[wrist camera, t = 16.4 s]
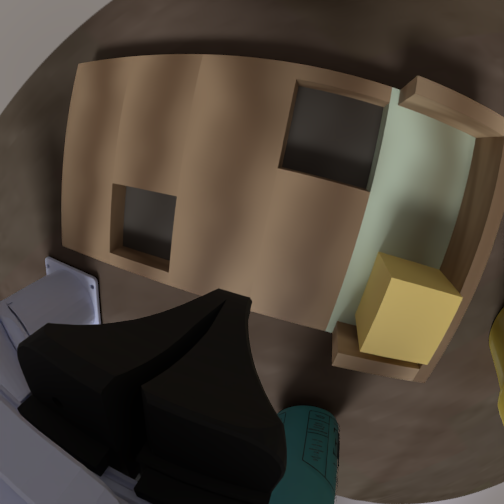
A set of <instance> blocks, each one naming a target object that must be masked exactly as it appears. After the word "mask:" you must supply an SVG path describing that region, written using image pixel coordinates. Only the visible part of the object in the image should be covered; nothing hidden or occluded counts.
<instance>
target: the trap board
mask: <svg viewBox="0 0 504 504" xmlns="http://www.w3.org/2000/svg"><path fill="white" fill-rule="evenodd" d="M503 212H504V117H502V116H501V115H499V114H497V113H496V112H494V111H492V110H490V109H489V108H487V107H485V106H483V105H481V104H480V103H478V102H476V101H474V100H472V99H470V98H468V97H466V96H464V95H462V94H460V93H458V92H456V91H454V90H451V89H449V88H447V87H445V86H443V85H440V84H438V83H436V82H433V81H431V80H428V79H426V78H423V77H421V76H416V77H415V78H414V79H413V80H412V81H410V82H409V83H408V84H407V85H406V86H404V87H403V88H402V89H401V90H399V89H396V88H393V87H390V86H387V85H384V84H381V83H377V82H374V81H371V80H367V79H364V78H360V77H357V76H353V75H349V74H345V73H341V72H337V71H332V70H328V69H323V68H319V67H314V66H308V65H303V64H297V63H291V62H285V61H278V60H271V59H263V58H254V57H243V56H230V55H211V54H163V55H144V56H132V57H121V58H113V59H105V60H98V61H91V62H85V63H80V64H78V68H77V72H76V77H75V82H74V86H73V91H72V97H71V102H70V108H69V115H68V122H67V129H66V137H65V147H64V158H63V172H62V196H61V225H62V246H64V247H67V248H69V249H72V250H74V251H77V252H79V253H82V254H84V255H87V256H89V257H92V258H95V259H97V260H100V261H103V262H105V263H108V264H111V265H113V266H116V267H119V268H121V269H124V270H127V271H130V272H132V273H135V274H138V275H141V276H144V277H146V278H149V279H152V280H155V281H158V282H161V283H164V284H167V285H170V286H173V287H176V288H179V289H182V290H185V291H188V292H191V293H194V294H197V295H200V296H203V295H205V294H207V293H209V292H212V291H214V290H216V289H218V288H219V289H223V290H226V291H229V292H233V293H236V294H240V295H243V296H246V297H250V298H251V300H252V305H251V310H250V311H253V312H256V313H260V314H263V315H267V316H270V317H274V318H277V319H281V320H285V321H288V322H292V323H296V324H299V325H303V326H307V327H311V328H315V329H319V330H323V331H326V332H331V333H332V366H336V367H341V368H345V369H350V370H354V371H359V372H364V373H369V374H374V375H380V376H385V377H391V378H396V379H402V380H408V381H415V382H421V383H425V382H426V380H427V379H428V377H429V376H430V374H431V372H432V371H433V369H434V368H435V366H436V365H437V363H438V361H439V360H440V358H441V356H442V355H443V353H444V351H445V350H446V348H447V346H448V344H449V343H450V341H451V339H452V337H453V335H454V333H455V332H456V330H457V328H458V326H459V324H460V322H461V320H462V318H463V316H464V314H465V312H466V310H467V308H468V306H469V304H470V302H471V299H472V297H473V295H474V293H475V290H476V288H477V286H478V284H479V281H480V279H481V276H482V274H483V271H484V269H485V266H486V264H487V261H488V258H489V256H490V253H491V250H492V247H493V244H494V241H495V238H496V235H497V232H498V229H499V226H500V222H501V219H502V215H503ZM378 252H382V253H385V254H389V255H392V256H396V257H399V258H402V259H406V260H409V261H413V262H416V263H419V264H422V265H426V266H429V267H432V268H436V269H439V270H440V271H441V272H442V273H443V274H444V276H445V277H446V278H447V279H448V280H449V281H450V283H451V284H452V285H453V286H454V287H455V288H456V290H457V291H458V292H459V293H460V294H461V296H462V297H463V299H462V301H461V303H460V305H459V307H458V309H457V312H456V314H455V316H454V318H453V320H452V322H451V324H450V326H449V327H448V329H447V331H446V333H445V335H444V337H443V339H442V341H441V342H440V344H439V346H438V348H437V349H436V351H435V353H434V355H433V356H432V358H431V360H430V361H429V363H428V365H425V364H420V363H414V362H409V361H403V360H398V359H393V358H388V357H383V356H378V355H374V354H369V353H364V352H360V350H359V342H358V334H357V326H356V319H355V313H356V311H357V308H358V306H359V303H360V301H361V298H362V296H363V293H364V290H365V288H366V285H367V282H368V279H369V277H370V274H371V271H372V268H373V265H374V263H375V260H376V257H377V254H378Z"/></svg>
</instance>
